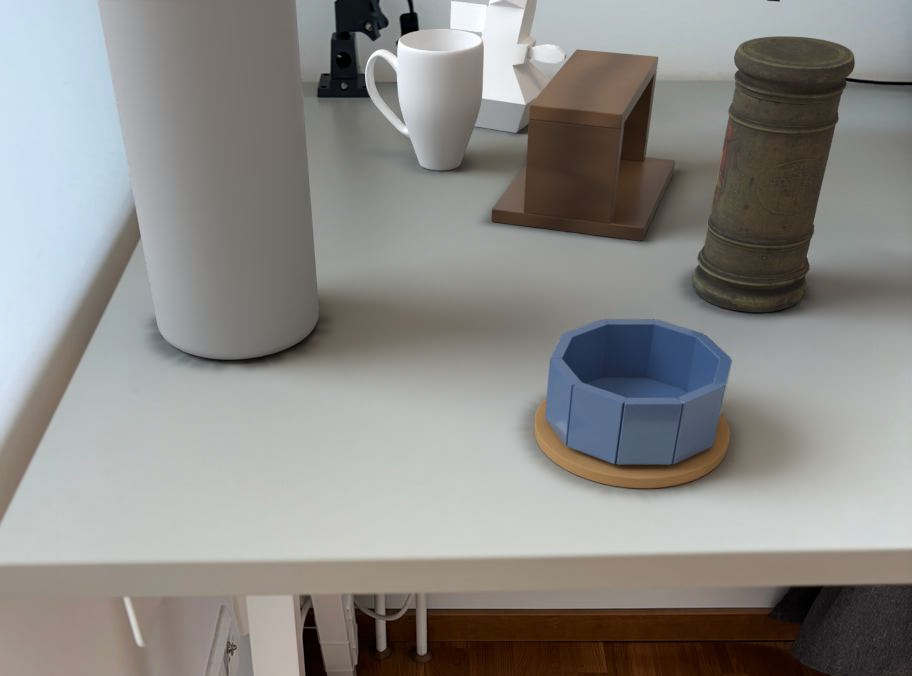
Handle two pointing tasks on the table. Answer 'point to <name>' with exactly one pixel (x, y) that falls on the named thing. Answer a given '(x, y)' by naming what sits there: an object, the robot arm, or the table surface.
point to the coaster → (629, 474)
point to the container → (771, 172)
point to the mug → (435, 92)
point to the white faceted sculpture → (506, 59)
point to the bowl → (636, 391)
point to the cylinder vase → (218, 169)
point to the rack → (590, 151)
